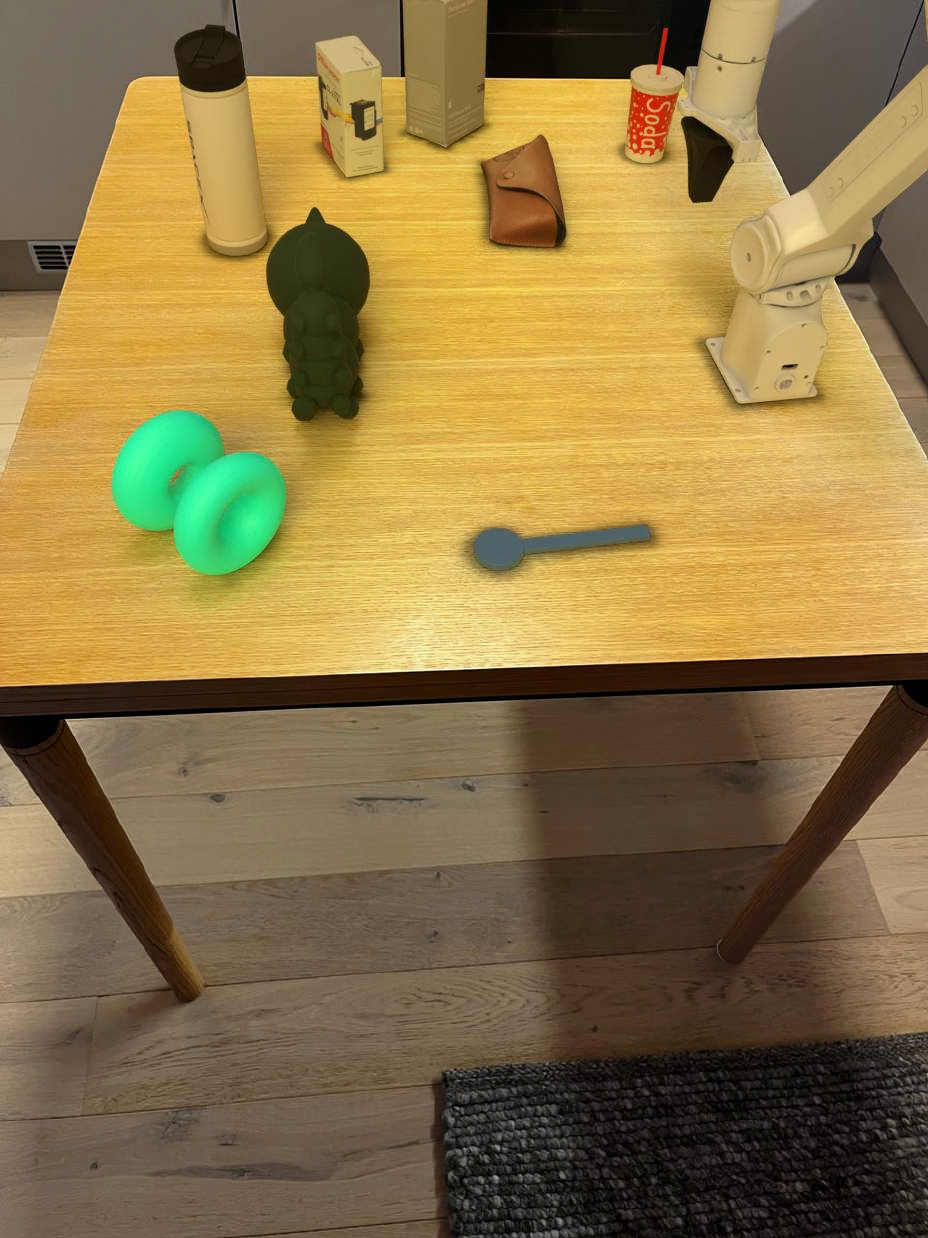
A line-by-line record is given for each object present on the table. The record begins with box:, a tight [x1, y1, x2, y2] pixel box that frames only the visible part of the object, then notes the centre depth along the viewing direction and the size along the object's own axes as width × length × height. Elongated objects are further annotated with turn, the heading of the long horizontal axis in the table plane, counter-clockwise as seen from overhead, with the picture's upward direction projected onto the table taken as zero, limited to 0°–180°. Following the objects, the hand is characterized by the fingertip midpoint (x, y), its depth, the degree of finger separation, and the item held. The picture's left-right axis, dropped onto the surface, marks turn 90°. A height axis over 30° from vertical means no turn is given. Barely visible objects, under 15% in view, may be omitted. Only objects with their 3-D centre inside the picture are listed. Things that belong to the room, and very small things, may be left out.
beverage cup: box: [624, 27, 685, 164], centre depth 116 cm, size 6×6×14 cm
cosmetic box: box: [402, 0, 488, 148], centre depth 118 cm, size 8×7×16 cm
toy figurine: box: [265, 206, 371, 422], centre depth 87 cm, size 9×19×25 cm
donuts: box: [110, 409, 287, 576], centre depth 76 cm, size 10×10×10 cm
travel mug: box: [173, 23, 268, 257], centre depth 99 cm, size 6×7×20 cm
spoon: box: [473, 524, 651, 572], centre depth 81 cm, size 4×14×1 cm, turn 100°
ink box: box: [314, 35, 385, 178], centre depth 114 cm, size 9×5×12 cm, turn 25°
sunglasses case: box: [480, 133, 568, 249], centre depth 112 cm, size 18×7×7 cm
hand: (700, 198), depth 97 cm, fingers closed
